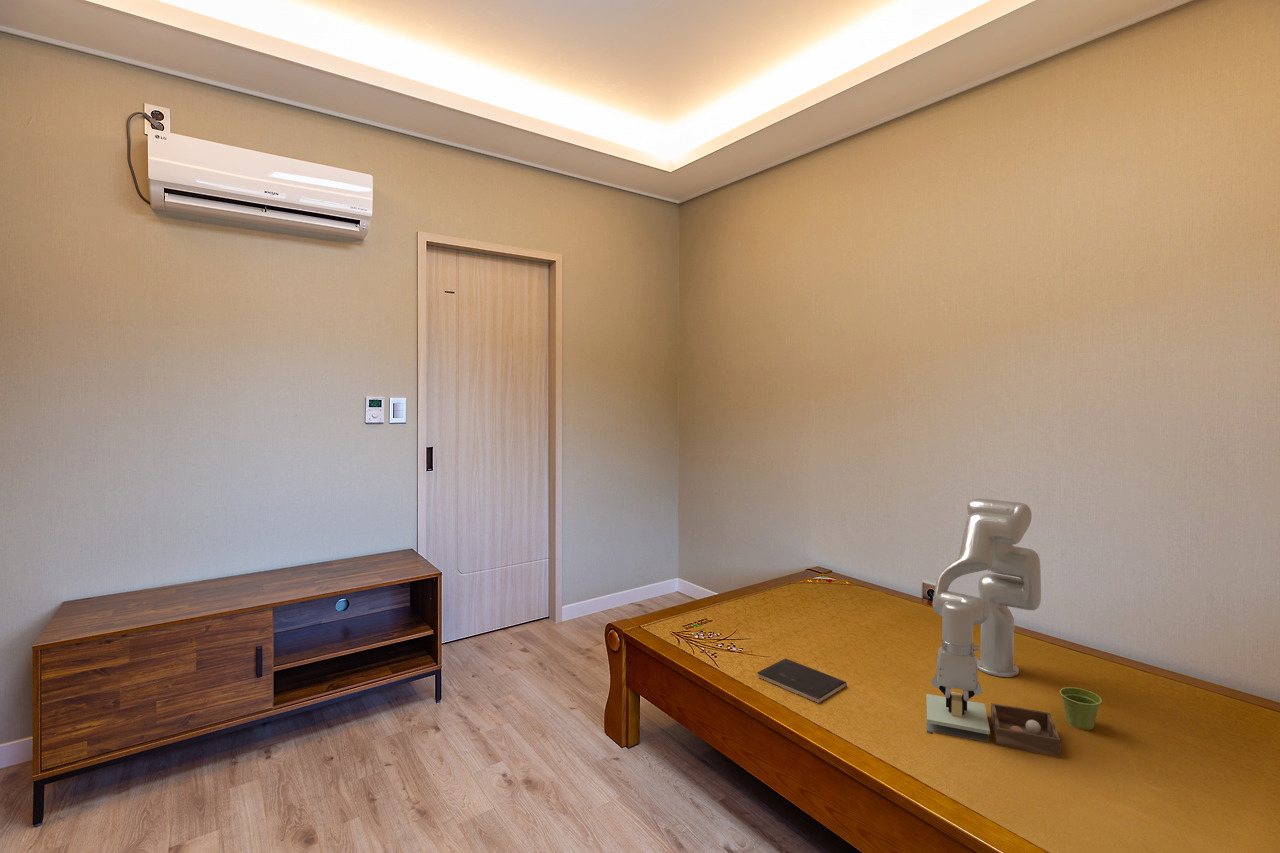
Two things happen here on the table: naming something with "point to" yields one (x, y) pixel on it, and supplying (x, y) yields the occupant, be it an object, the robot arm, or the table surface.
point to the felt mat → (956, 732)
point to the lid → (957, 714)
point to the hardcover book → (802, 680)
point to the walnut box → (1015, 716)
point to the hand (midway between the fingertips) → (956, 710)
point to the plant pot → (1080, 707)
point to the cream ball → (1033, 727)
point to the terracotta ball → (1016, 728)
